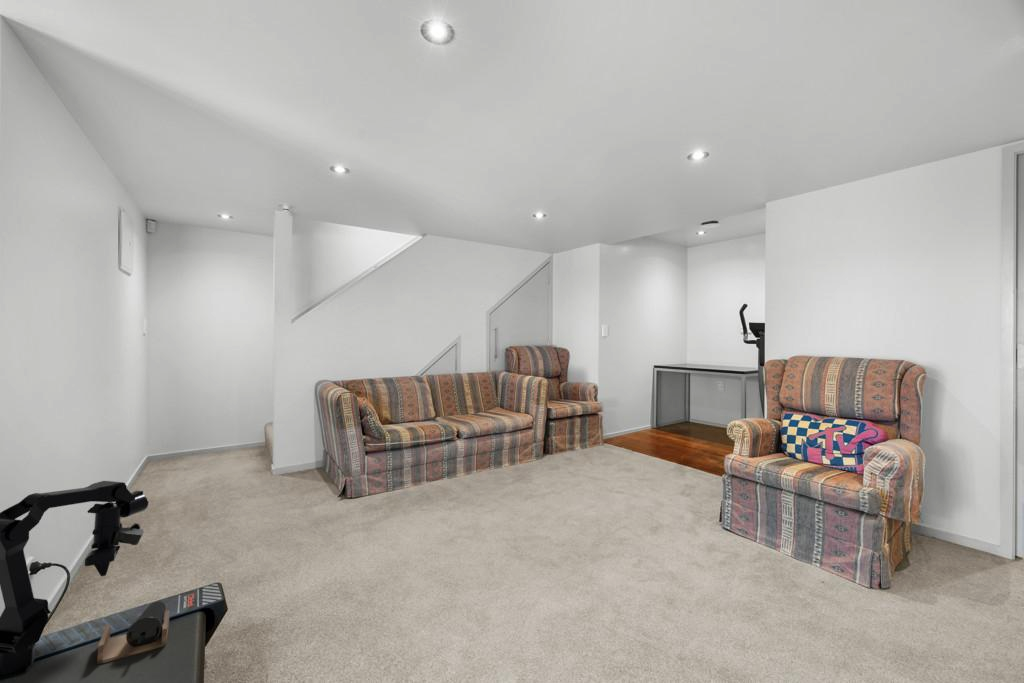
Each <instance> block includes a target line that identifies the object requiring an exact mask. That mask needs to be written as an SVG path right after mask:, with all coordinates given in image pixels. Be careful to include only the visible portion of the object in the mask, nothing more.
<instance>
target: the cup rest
mask: <svg viewBox="0 0 1024 683" xmlns="http://www.w3.org/2000/svg"><path fill="white" fill-rule="evenodd" d="M170 612H171V611H170V609H168V610H167V609H166V610H165V614H164V618H163V622H162V630H161V633H160V635H159V637H158V638H157V639H156V640H155V641H154V642H153V643H151V644H147V645H143V646H138V647H133V646H131V645H130V644H129V643H128V642H127V640H126V634H127V633H126V634H121V635H117V636H114V637H111V627H112V626H111V623H108V624H106V625H105V627H104V629H103V632H102V635H101V636H100V640H99V643H98V646H97V660H96V665H97V664H98V665H101V664H100V663H102V664H104V663H109V662H112V661H115V660H116V661H117V660H119V659H122V658H126V657H131V656H134V655H138V654H141V653H145V652H147V651H148V652H149V651H153V650H156V649H159V648H162V647H166V646H167V640H168V633H169V626H170V625H169V624H170ZM144 635H145V634H144Z"/></svg>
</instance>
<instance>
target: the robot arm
mask: <svg viewBox="0 0 1024 683" xmlns="http://www.w3.org/2000/svg"><path fill="white" fill-rule="evenodd" d="M127 487H128V486H127V485H126V483H125V482H122V481H121V482H120V481H113V480H112V481H111V480H102V481H97V482H94V483H91V484H90V485H88V486H85V487H80V488H79V487H78V488H71V489H64V490H55V491H48V492H40V493H39V492H35V493H32V494H31V493H30V494H28V495H26V497H24V498H22V500H20V501H19V502H17V503H16V504H14V505H12V506H10V507H8V508H6V509H4V510H2V511H1V512H0V590H1V594H2V600H3V603H4V609H3V611H2V612H1V615H0V680H3V679H7V678H8V679H9V678H11V677H16V676H19V674H20V675H23V674H25V672H26V673H27V671H28V669H29V668H30V667H31V665H33V663H34V661H35V659H36V658H35V656H36V648H37V647H36V646H37V644H36V643H38V642H39V641H40V639H41V636H42V633H43V632H44V630H45V626H46V624H47V623H48V622H49V614H51V613H52V611H50V609H49V601H48V599H45V598H44V599H43V598H38V597H37V598H35V597H34V592H33V587H32V583H31V579H30V574H29V569H28V564H27V561H26V556H25V552H24V551H25V550H24V549H25V547H26V545H27V543H28V541H29V539H30V531H31V530H33V529H34V528H35V527H37V525H39V523H40V521H41V520H42V518H43V516H44V514H45V513H46V512H47V510H49V509H52V508H58V507H60V508H61V507H64V506H65V507H66V506H70V505H77V504H84V503H90V502H96V503H94V504H93V506H91V507H90V508H89V509H88V510H87V513H88V514H94V515H95V516H94V527H93V530H92V536H93V538H92V539H93V542H92V543H91V551H90V552H89V553H88V554H86V556H85V558H84V566H85V567H89V566H94V567H95V568H96V570H97V573H98V574H99V575H100V577H105V576H107V572H108V570H109V568H110V564H111V563H112V562H114V561H115V560H116V557H117V555H118V553H119V550H120V549H121V545H120V544H128V545H131V546H137V545H138V544H139V542H140V540H141V538H142V537H143V534H144V533H145V531H144V529H143V528H141V524H140V523H137V522H134V523H133V524H131V525H130V526H127V527H123V523H122V522H121V518H127V517H128V518H129V517H131V516H133V515H135V514H138V513H141V512H143V511H146V510H147V509H148V506H149V501H148V498H147V497H146V495H145V494H144V490H135V491H133V492H131V491H130V490H128V488H127ZM97 502H99V503H97ZM100 502H101V503H100ZM27 513H28V514H27ZM25 514H27V515H26V516H24V517H23V518H22V519H18V518H20V517H22V516H23V515H25ZM93 549H94V550H93Z"/></svg>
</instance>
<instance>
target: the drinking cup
mask: <svg viewBox="0 0 1024 683" xmlns="http://www.w3.org/2000/svg"><path fill="white" fill-rule="evenodd" d="M166 608H167V606H166V604H165V603H164V602H162V601H154V602H151V603H150V604H149V605H147V607H146V609H145V610H144V611H143V612H142V613H141V614H140V615H139V617H138V618H137V619H136V620H135V621H134V622H133V623H132V624H131V625H130V627H128V630H127V631H126V640H127V642H128V643H129V644H130V645H131V646H133V647H138V646H143V645H147V644H151V643H153V642H154V641H155V640H156V639H157V638H158V637H159V635H160V633H161V630H162V625H163V623H164V617H165V611H166V610H167V609H166ZM144 634H145V635H144Z"/></svg>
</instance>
